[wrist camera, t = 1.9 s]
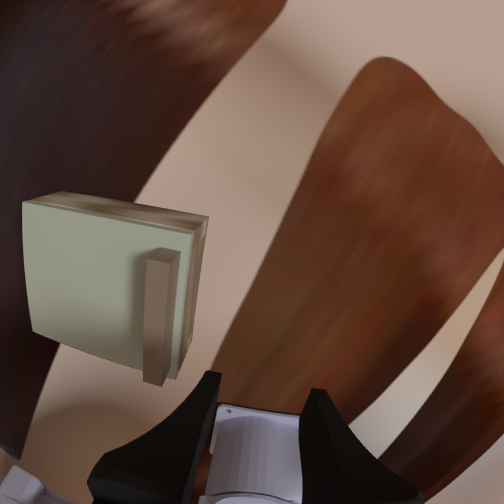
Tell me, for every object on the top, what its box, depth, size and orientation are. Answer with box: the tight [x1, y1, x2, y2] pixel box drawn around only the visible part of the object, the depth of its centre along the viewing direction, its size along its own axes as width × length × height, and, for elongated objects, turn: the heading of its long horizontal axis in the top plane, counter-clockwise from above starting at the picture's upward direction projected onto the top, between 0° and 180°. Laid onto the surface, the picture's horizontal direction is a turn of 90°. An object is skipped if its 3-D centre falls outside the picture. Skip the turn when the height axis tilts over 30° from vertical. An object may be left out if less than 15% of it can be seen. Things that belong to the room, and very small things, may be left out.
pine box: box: [31, 191, 209, 372], centre depth 21 cm, size 12×10×4 cm
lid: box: [22, 200, 194, 386], centre depth 17 cm, size 12×10×3 cm
